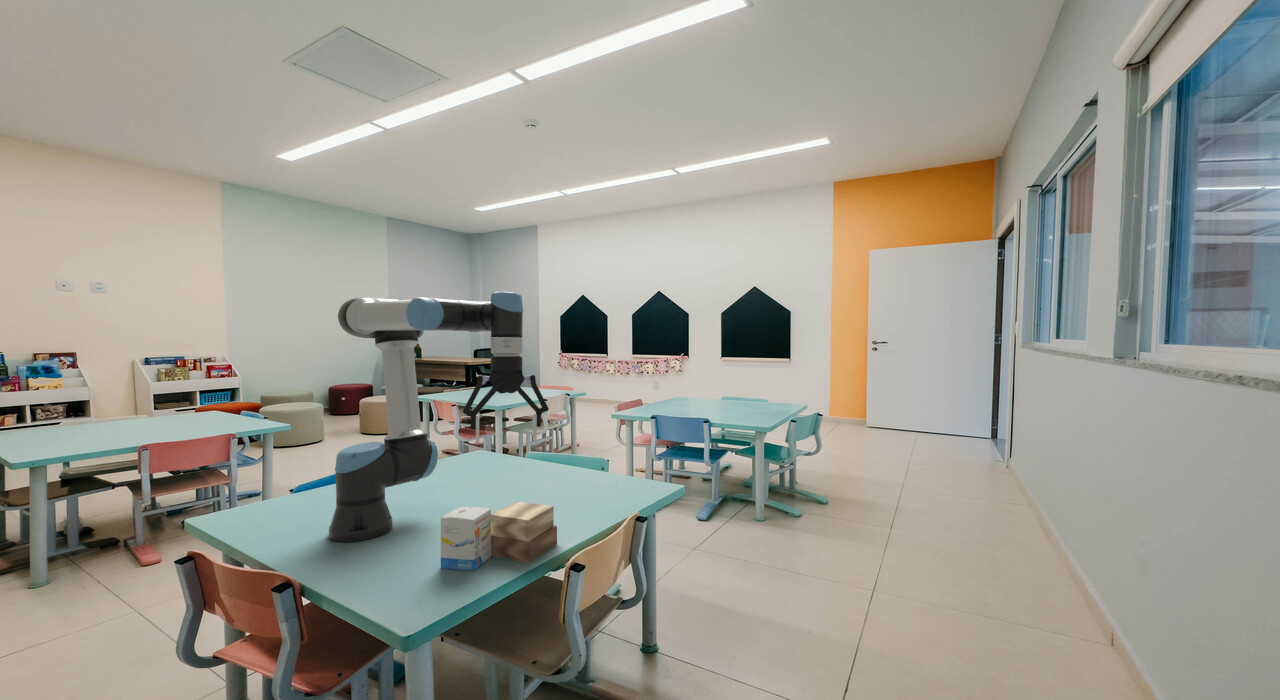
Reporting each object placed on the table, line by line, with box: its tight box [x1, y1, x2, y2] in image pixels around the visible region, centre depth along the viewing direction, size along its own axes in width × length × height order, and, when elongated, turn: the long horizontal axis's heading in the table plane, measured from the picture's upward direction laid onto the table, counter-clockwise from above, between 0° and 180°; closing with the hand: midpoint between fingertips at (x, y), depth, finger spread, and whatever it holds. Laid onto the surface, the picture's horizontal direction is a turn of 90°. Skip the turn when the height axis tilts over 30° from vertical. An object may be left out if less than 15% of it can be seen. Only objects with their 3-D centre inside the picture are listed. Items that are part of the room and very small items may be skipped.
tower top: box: [491, 501, 555, 542], centre depth 126 cm, size 11×11×5 cm
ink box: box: [440, 506, 492, 572], centre depth 118 cm, size 9×8×12 cm
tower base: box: [491, 525, 558, 564], centre depth 126 cm, size 12×12×5 cm
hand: (506, 441), depth 125 cm, fingers open, 13 cm apart
